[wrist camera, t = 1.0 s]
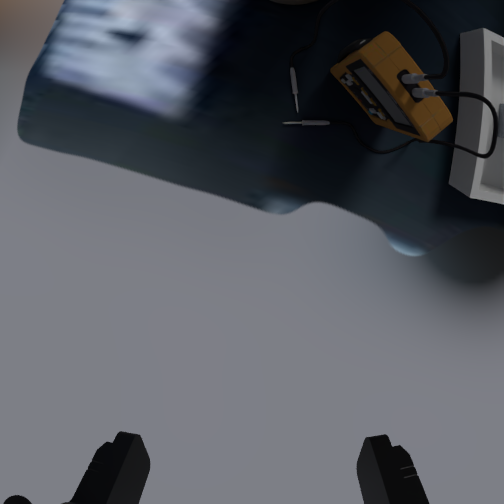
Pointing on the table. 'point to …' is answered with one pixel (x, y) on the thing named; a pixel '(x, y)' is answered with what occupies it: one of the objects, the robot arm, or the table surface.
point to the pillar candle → (293, 1)
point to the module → (501, 121)
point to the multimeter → (394, 88)
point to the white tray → (479, 117)
